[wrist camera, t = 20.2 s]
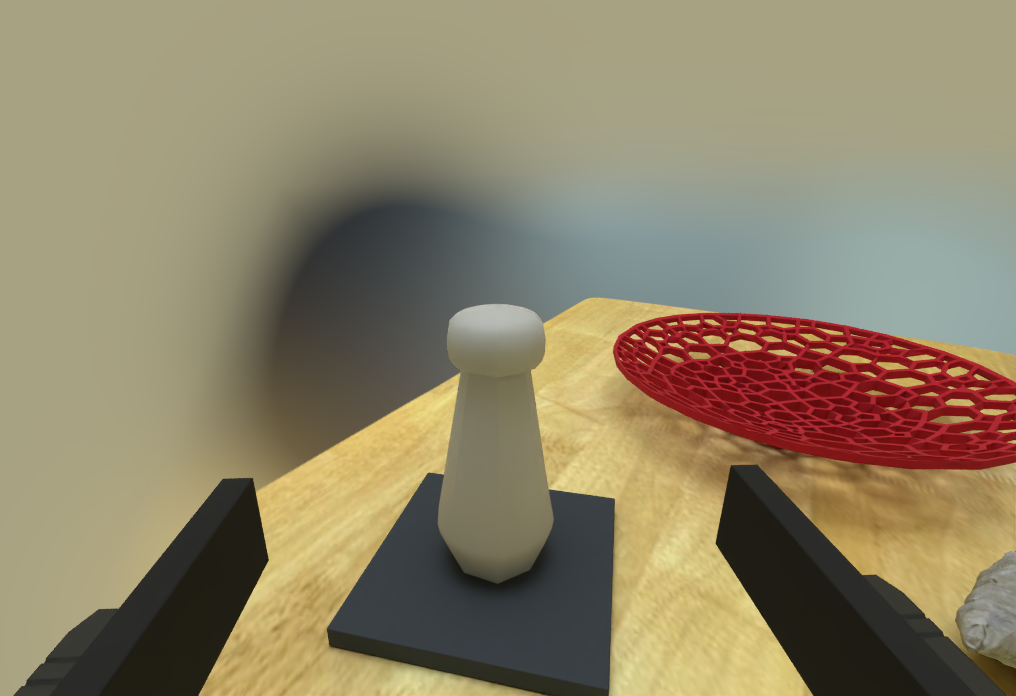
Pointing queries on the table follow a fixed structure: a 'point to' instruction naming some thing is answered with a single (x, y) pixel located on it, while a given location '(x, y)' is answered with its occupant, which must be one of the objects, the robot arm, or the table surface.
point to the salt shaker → (495, 445)
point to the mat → (491, 602)
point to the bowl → (823, 392)
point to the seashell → (992, 612)
